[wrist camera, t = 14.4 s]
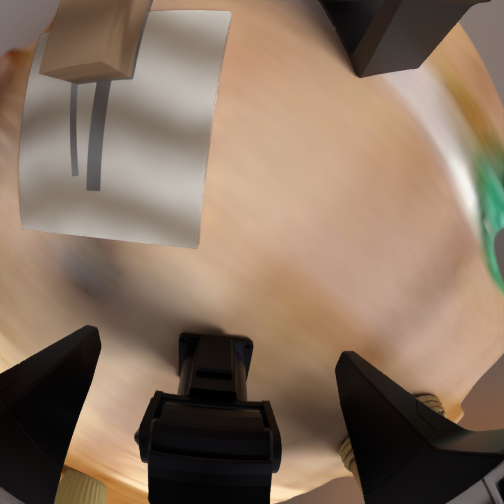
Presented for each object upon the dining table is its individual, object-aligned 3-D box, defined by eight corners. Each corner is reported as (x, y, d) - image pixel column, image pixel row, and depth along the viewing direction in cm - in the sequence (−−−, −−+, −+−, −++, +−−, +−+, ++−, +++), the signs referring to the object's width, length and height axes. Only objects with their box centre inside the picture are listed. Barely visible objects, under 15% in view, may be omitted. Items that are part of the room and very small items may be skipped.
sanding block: (133, 79, 14) (101, 61, 10) (78, 84, 14) (38, 73, 9) (153, -3, 12) (133, -37, 7) (99, 5, 11) (70, -20, 7)
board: (199, 243, 20) (197, 249, 19) (29, 224, 18) (21, 228, 17) (231, 18, 14) (231, 11, 13) (47, 37, 12) (40, 34, 11)
